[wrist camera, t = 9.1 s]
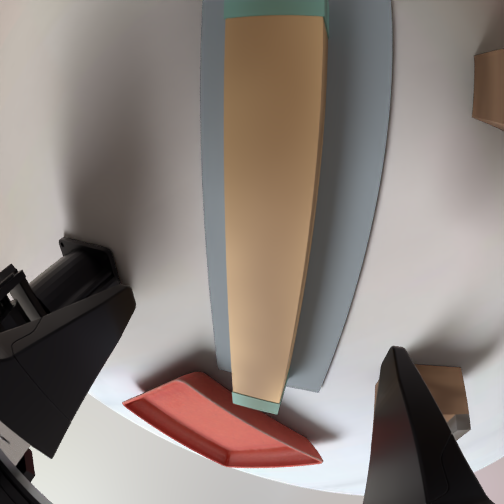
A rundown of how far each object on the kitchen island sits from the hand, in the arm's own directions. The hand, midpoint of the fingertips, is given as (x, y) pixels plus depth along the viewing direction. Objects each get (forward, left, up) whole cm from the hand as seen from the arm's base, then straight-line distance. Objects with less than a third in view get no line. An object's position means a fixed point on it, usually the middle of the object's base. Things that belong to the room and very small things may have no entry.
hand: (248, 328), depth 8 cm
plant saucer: (-5, -24, -7) cm, 26 cm away
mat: (0, 0, -6) cm, 6 cm away
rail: (0, 0, -6) cm, 6 cm away
